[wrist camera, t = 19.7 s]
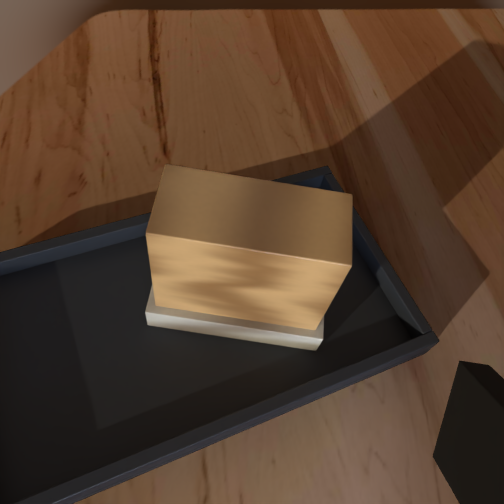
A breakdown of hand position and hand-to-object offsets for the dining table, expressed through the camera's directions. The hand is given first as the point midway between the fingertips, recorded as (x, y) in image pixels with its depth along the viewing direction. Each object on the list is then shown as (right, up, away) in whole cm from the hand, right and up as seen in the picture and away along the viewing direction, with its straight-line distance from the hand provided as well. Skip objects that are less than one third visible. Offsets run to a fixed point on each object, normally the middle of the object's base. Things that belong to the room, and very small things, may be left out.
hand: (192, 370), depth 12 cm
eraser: (0, 0, +21) cm, 21 cm away
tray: (-2, -2, +20) cm, 21 cm away
